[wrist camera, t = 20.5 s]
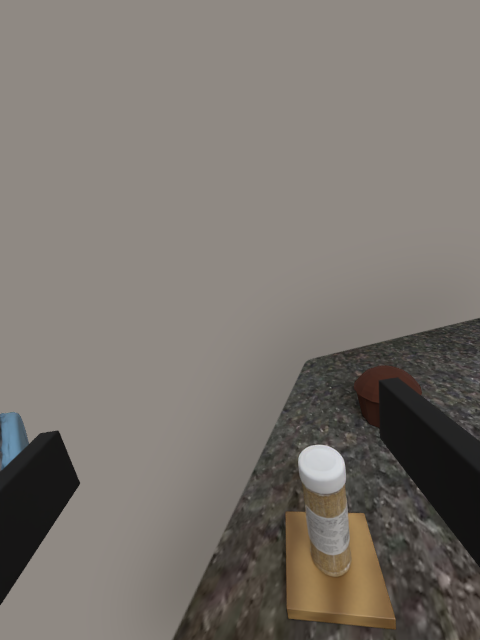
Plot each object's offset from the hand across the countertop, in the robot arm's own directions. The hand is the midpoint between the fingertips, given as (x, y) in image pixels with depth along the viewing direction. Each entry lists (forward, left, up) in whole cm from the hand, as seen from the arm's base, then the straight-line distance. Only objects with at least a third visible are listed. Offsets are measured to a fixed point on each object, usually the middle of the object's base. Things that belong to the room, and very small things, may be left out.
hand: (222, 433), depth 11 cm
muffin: (+19, +40, -30) cm, 53 cm away
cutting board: (+4, +14, -29) cm, 33 cm away
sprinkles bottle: (+4, +14, -28) cm, 31 cm away
